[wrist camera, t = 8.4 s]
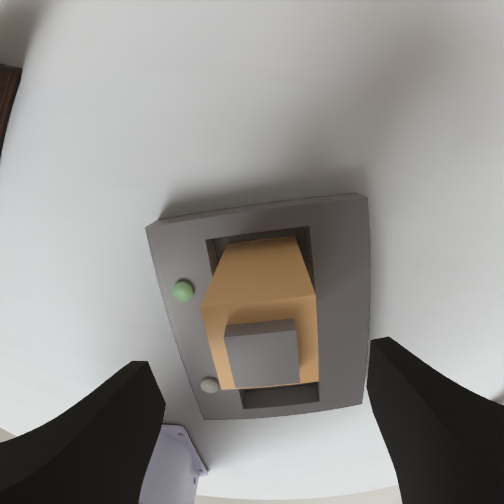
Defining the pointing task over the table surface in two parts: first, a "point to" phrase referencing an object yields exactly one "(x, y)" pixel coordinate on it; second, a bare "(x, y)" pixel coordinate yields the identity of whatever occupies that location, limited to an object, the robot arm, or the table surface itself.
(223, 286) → the plug
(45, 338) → the table surface
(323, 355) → the socket block
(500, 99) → the table surface
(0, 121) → the manual coffee grinder
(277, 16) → the table surface
